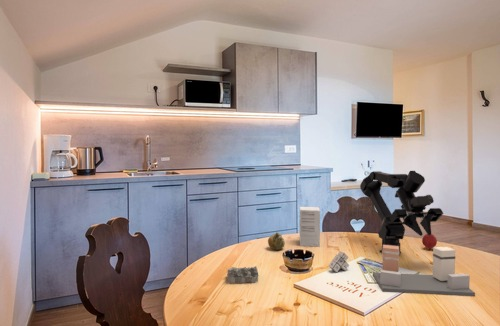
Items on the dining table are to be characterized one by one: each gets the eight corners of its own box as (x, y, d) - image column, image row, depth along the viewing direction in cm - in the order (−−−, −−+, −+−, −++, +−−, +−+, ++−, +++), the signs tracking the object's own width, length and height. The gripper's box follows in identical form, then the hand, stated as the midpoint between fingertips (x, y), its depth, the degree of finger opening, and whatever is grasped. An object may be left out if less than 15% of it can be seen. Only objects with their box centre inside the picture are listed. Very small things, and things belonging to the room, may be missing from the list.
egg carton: (226, 284, 115) (226, 272, 114) (227, 276, 122) (227, 265, 122) (258, 284, 115) (258, 272, 115) (257, 275, 122) (257, 264, 122)
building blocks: (340, 277, 126) (353, 259, 128) (332, 268, 124) (345, 250, 126) (331, 272, 130) (343, 255, 133) (323, 263, 129) (335, 247, 131)
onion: (438, 251, 150) (438, 233, 149) (424, 250, 151) (424, 232, 150) (434, 247, 155) (434, 230, 155) (420, 247, 156) (420, 229, 156)
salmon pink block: (382, 272, 121) (382, 244, 120) (398, 274, 119) (399, 246, 118) (382, 276, 117) (382, 247, 116) (398, 279, 115) (399, 249, 114)
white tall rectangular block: (432, 276, 117) (433, 247, 117) (446, 275, 118) (447, 246, 117) (440, 280, 113) (441, 250, 113) (454, 280, 114) (455, 250, 113)
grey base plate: (372, 275, 122) (372, 261, 122) (453, 278, 119) (454, 264, 119) (382, 291, 108) (382, 275, 108) (474, 295, 105) (475, 279, 105)
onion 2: (288, 248, 155) (288, 230, 155) (280, 252, 148) (280, 234, 148) (273, 245, 159) (273, 228, 159) (265, 250, 152) (265, 232, 152)
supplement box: (299, 240, 168) (299, 206, 167) (318, 241, 166) (319, 206, 166) (299, 246, 158) (299, 209, 158) (320, 246, 157) (320, 210, 156)
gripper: (394, 187, 128) (411, 223, 117) (440, 186, 130) (461, 222, 120) (383, 205, 136) (398, 240, 125) (426, 204, 138) (445, 238, 128)
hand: (425, 235), depth 124 cm, fingers open, 3 cm apart
